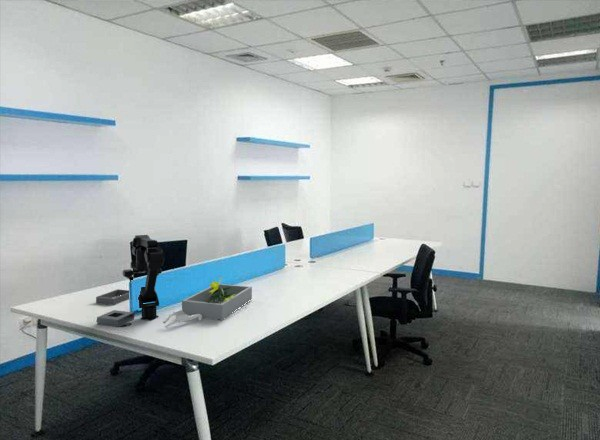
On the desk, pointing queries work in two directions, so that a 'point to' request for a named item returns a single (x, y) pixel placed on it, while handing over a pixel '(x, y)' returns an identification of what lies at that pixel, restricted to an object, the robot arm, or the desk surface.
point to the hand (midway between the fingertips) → (142, 287)
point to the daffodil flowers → (218, 291)
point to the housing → (115, 318)
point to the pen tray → (109, 296)
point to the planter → (214, 310)
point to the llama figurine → (181, 317)
